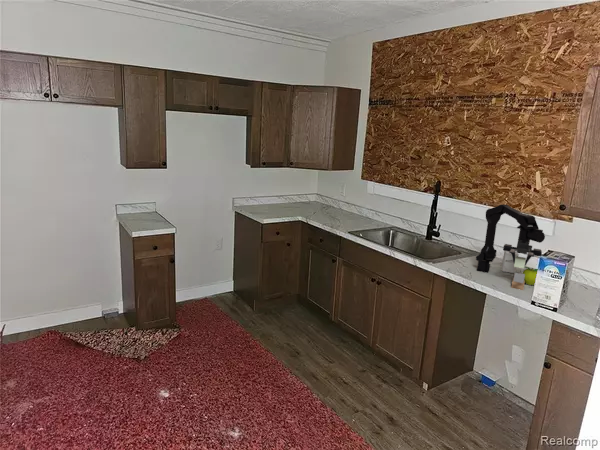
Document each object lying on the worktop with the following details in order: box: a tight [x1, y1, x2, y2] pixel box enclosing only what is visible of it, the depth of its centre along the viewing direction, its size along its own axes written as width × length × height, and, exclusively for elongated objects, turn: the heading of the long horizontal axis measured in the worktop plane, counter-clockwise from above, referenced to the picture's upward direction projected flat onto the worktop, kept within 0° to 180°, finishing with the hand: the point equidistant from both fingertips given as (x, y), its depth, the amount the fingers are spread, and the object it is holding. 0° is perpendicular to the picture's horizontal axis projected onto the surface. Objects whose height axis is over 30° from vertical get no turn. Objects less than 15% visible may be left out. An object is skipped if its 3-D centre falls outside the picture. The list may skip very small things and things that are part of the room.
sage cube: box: [514, 255, 527, 269], centre depth 228 cm, size 5×5×5 cm
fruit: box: [521, 266, 539, 286], centre depth 235 cm, size 9×9×10 cm
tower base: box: [510, 277, 526, 291], centre depth 230 cm, size 6×6×4 cm
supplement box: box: [500, 250, 520, 274], centre depth 257 cm, size 7×7×13 cm
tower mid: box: [512, 271, 525, 283], centre depth 229 cm, size 5×5×4 cm
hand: (519, 264), depth 228 cm, fingers closed on sage cube, 5 cm apart
